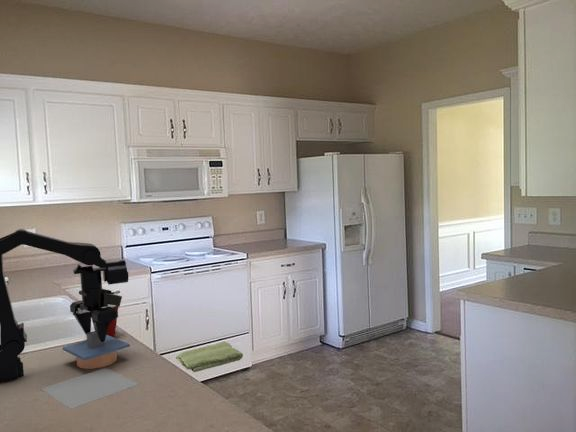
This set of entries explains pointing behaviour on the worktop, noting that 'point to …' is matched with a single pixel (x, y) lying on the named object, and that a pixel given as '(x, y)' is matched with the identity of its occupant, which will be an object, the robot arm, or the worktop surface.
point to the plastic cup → (113, 324)
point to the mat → (88, 387)
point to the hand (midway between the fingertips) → (95, 338)
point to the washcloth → (209, 356)
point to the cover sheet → (95, 351)
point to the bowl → (97, 361)
